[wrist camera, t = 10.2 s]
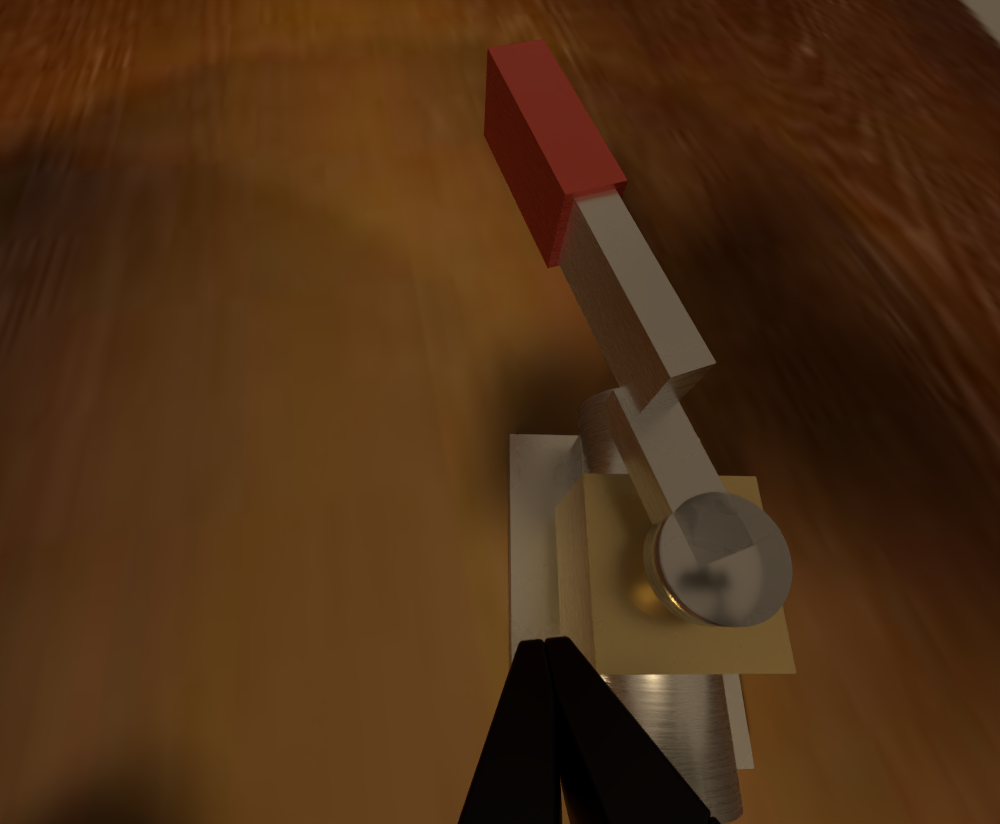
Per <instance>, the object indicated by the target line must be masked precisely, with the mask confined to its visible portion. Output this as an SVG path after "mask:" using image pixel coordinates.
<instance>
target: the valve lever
mask: <svg viewBox="0 0 1000 824" xmlns="http://www.w3.org/2000/svg"><path fill="white" fill-rule="evenodd" d="M484 136H485V139H486V141H487V143H488V145H489V147H490V149H491V151H492V153H493V155H494V157H495V159H496V161H497V164H498V166H499V168H500V170H501V172H502V174H503V176H504V178H505V180H506V182H507V184H508V186H509V189H510V191H511V193H512V195H513V197H514V199H515V201H516V203H517V205H518V207H519V209H520V211H521V214H522V216H523V218H524V220H525V222H526V224H527V226H528V228H529V230H530V232H531V234H532V236H533V239H534V241H535V243H536V245H537V247H538V249H539V251H540V253H541V255H542V257H543V259H544V261H545V264H546V266H547V268H550V267H554V266H558V265H560V267H561V269H562V271H563V273H564V275H565V277H566V279H567V282H568V284H569V286H570V288H571V290H572V292H573V294H574V296H575V298H576V300H577V302H578V304H579V306H580V308H581V310H582V312H583V314H584V316H585V318H586V320H587V322H588V324H589V326H590V328H591V330H592V332H593V334H594V336H595V338H596V340H597V342H598V345H599V347H600V349H601V351H602V353H603V355H604V357H605V359H606V361H607V363H608V365H609V367H610V369H611V371H612V373H613V375H614V377H615V379H616V381H617V383H618V385H619V388H616V389H613V390H612V392H611V393H610V395H609V397H608V398H607V400H606V401H605V403H604V404H603V406H602V407H601V409H600V410H599V411H600V413H601V415H602V417H603V419H604V421H605V424H606V426H607V428H608V430H609V432H610V434H611V436H612V438H613V441H614V443H615V445H616V447H617V449H618V451H619V453H620V456H621V458H622V460H623V462H624V464H625V466H626V468H627V471H628V473H629V475H630V477H631V479H632V481H633V483H634V486H635V488H636V490H637V492H638V494H639V496H640V498H641V501H642V503H643V505H644V507H645V509H646V511H647V513H648V516H649V518H650V520H651V522H652V526H651V527H650V529H649V531H648V533H647V536H646V539H645V542H644V549H643V562H644V569H645V573H646V577H647V579H648V582H649V584H650V586H651V588H652V590H653V592H654V593H655V595H656V596H657V598H658V599H659V600H660V602H661V603H662V604H663V605H664V606H665V607H666V608H667V609H668V610H669V611H670V612H672V613H673V614H675V615H676V616H677V617H679V618H681V619H683V620H684V621H687V622H689V623H692V624H695V625H699V626H706V627H749V626H754V625H757V624H760V623H762V622H764V621H766V620H768V619H770V618H771V617H772V616H773V615H775V614H776V613H777V612H778V611H779V609H780V608H781V607H782V605H783V604H784V602H785V601H786V599H787V596H788V594H789V591H790V588H791V582H792V561H791V556H790V552H789V549H788V546H787V543H786V541H785V539H784V537H783V535H782V533H781V531H780V530H779V528H778V527H777V525H776V524H775V523H774V521H773V520H772V519H771V518H770V517H769V516H768V515H767V514H766V513H765V512H764V511H763V510H762V509H760V508H759V507H758V506H756V505H755V504H754V503H752V502H750V501H748V500H747V499H745V498H742V497H740V496H737V495H734V494H730V493H727V491H726V489H725V487H724V485H723V483H722V481H721V480H720V478H719V476H718V474H717V472H716V470H715V468H714V466H713V465H712V463H711V461H710V459H709V457H708V455H707V453H706V451H705V450H704V448H703V446H702V444H701V442H700V440H699V438H698V436H697V435H696V433H695V431H694V429H693V427H692V425H691V423H690V421H689V420H688V418H687V416H686V414H685V412H684V410H683V408H682V406H681V405H680V403H679V401H680V400H681V399H682V398H683V397H684V396H685V395H686V394H687V393H688V392H689V391H690V390H691V388H692V387H693V386H694V385H695V384H696V383H697V382H698V381H699V380H700V379H701V378H702V377H703V376H704V375H705V374H706V373H707V372H708V371H709V370H710V369H711V368H712V367H713V366H714V365H715V364H716V361H715V359H714V358H713V356H712V354H711V353H710V351H709V349H708V347H707V346H706V344H705V342H704V341H703V339H702V337H701V335H700V334H699V332H698V330H697V328H696V327H695V325H694V323H693V322H692V320H691V318H690V316H689V315H688V313H687V311H686V310H685V308H684V306H683V304H682V303H681V301H680V299H679V297H678V296H677V294H676V292H675V291H674V289H673V287H672V285H671V284H670V282H669V280H668V279H667V277H666V275H665V273H664V272H663V270H662V268H661V266H660V265H659V263H658V261H657V260H656V258H655V256H654V254H653V253H652V251H651V249H650V248H649V246H648V244H647V242H646V241H645V239H644V237H643V235H642V234H641V232H640V230H639V229H638V227H637V225H636V223H635V222H634V220H633V218H632V217H631V215H630V213H629V211H628V210H627V208H626V206H625V204H624V203H623V201H622V199H621V197H622V194H623V192H624V189H625V186H626V184H627V181H628V180H627V178H626V177H625V175H624V173H623V172H622V170H621V168H620V167H619V165H618V163H617V162H616V160H615V158H614V157H613V155H612V153H611V152H610V150H609V148H608V147H607V145H606V143H605V142H604V140H603V138H602V137H601V135H600V133H599V131H598V130H597V128H596V126H595V125H594V123H593V121H592V120H591V118H590V116H589V115H588V113H587V111H586V110H585V108H584V106H583V105H582V103H581V101H580V100H579V98H578V96H577V95H576V93H575V91H574V90H573V88H572V86H571V85H570V83H569V81H568V80H567V78H566V76H565V75H564V73H563V71H562V70H561V68H560V66H559V64H558V63H557V61H556V59H555V58H554V56H553V54H552V53H551V51H550V49H549V48H548V46H547V44H546V43H545V41H544V39H542V40H535V41H529V42H523V43H517V44H510V45H504V46H498V47H492V48H488V53H487V76H486V99H485V123H484Z"/></svg>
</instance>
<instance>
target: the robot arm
mask: <svg viewBox="0 0 1000 824" xmlns="http://www.w3.org/2000/svg"><path fill="white" fill-rule="evenodd" d="M560 780H561V784H560ZM561 786H562V791H563V795H564V800H565V804H566V808H567V813H568V817H569V821H570V824H721V823H720V822H719V821H718V819H717V818H716V817H714V816H712V817H711V812H710V810H709V809H708V808H707V806H706V805H705V804H704V803H703V801H702V800H701V799H700V798H699V796H698V795H697V794H696V793H695V792H694V790H693V789H692V788H691V787H690V785H689V784H688V783H687V782H686V780H685V779H684V778H683V777H682V775H681V774H680V773H679V772H678V771H677V769H676V768H675V767H674V766H673V764H672V763H671V762H670V761H669V759H668V758H667V757H666V756H665V755H664V753H663V752H662V751H661V750H660V748H659V747H658V746H657V745H656V743H655V742H654V741H653V740H652V739H651V737H650V736H649V735H648V734H647V732H646V731H645V730H644V729H643V727H642V726H641V725H640V724H639V723H638V721H637V720H636V719H635V718H634V716H633V715H632V714H631V713H630V711H629V710H628V709H627V708H626V707H625V705H624V704H623V703H622V702H621V700H620V699H619V698H618V697H617V695H616V694H615V693H614V692H613V691H612V689H611V688H610V687H609V686H608V684H607V683H606V682H605V681H604V679H603V678H602V677H601V676H600V675H599V673H598V672H597V671H596V670H595V668H594V667H593V666H592V665H591V663H590V662H589V661H588V660H587V659H586V657H585V656H584V655H583V654H582V652H581V651H580V650H579V649H578V647H577V646H576V645H575V644H574V643H573V641H572V640H571V639H570V638H569V637H567V636H559V637H549V638H546V639H545V641H543V640H542V639H530V640H522V641H520V642H519V644H518V646H517V649H516V652H515V655H514V658H513V661H512V664H511V667H510V670H509V673H508V676H507V679H506V682H505V685H504V688H503V691H502V693H501V696H500V699H499V702H498V705H497V708H496V711H495V714H494V717H493V720H492V723H491V726H490V729H489V732H488V735H487V738H486V741H485V744H484V747H483V750H482V753H481V756H480V759H479V762H478V765H477V768H476V770H475V773H474V776H473V779H472V782H471V785H470V788H469V791H468V794H467V797H466V800H465V803H464V806H463V809H462V812H461V815H460V818H459V821H458V824H562V802H561Z"/></svg>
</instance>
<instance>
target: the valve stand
mask: <svg viewBox="0 0 1000 824" xmlns="http://www.w3.org/2000/svg"><path fill="white" fill-rule="evenodd" d="M614 389H616V388H614ZM612 390H613V389H609V390H606V391H602V392H600V393H597V394H594V395H592V396H590V397H589V398H587V399H585V400H584V401H583V402H582V403H581V404H580V405H579V408H578V418H579V433H580V435H579V436H578V435H535V434H510V435H509V439H508V583H509V670H510V667H511V664H512V661H513V658H514V655H515V652H516V649H517V646H518V644H519V642H520V641H522V640H530V639H542V640H543V641H545V639H546V638H549V637H559V636H567V637H569V638H570V639H571V640H572V641H573V643H574V644H575V645H576V646H577V647H578V649H579V650H580V651H581V652H582V654H583V655H584V656H585V657H586V659H587V660H588V661H589V662H590V663H591V665H592V666H593V667H594V668H595V670H596V671H597V672H598V673H599V675H600V676H601V677H602V678H603V679H604V681H605V682H606V683H607V684H608V686H609V687H610V688H611V689H612V691H613V692H614V693H615V694H616V695H617V697H618V698H619V699H620V700H621V702H622V703H623V704H624V705H625V707H626V708H627V709H628V710H629V711H630V713H631V714H632V715H633V716H634V718H635V719H636V720H637V721H638V723H639V724H640V725H641V726H642V727H643V729H644V730H645V731H646V732H647V734H648V735H649V736H650V737H651V739H652V740H653V741H654V742H655V743H656V745H657V746H658V747H659V748H660V750H661V751H662V752H663V753H664V755H665V756H666V757H667V758H668V759H669V761H670V762H671V763H672V764H673V766H674V767H675V768H676V769H677V771H678V772H679V773H680V774H681V775H682V777H683V778H684V779H685V780H686V782H687V783H688V784H689V785H690V787H691V788H692V789H693V790H694V792H695V793H696V794H697V795H698V796H699V798H700V799H701V800H702V801H703V803H704V804H705V805H706V806H707V808H708V809H709V810H710V812H711V817H712V816H714V817H716V818H717V819H718V821H719V822H720V823H721V824H725V823H729V822H732V821H734V820H737V819H738V818H740V817H741V816H742V814H743V806H742V799H741V793H740V786H739V780H738V773H737V769H754V763H753V757H752V751H751V745H750V739H749V733H748V727H747V721H746V715H745V709H744V703H743V697H742V691H741V685H740V679H739V674H796V669H795V664H794V659H793V654H792V649H791V644H790V640H789V635H788V630H787V625H786V620H785V615H784V610H783V605H782V607H781V608H780V609H779V611H778V612H777V613H776V614H775V615H773V616H772V617H771V618H770V619H768V620H766V621H764V622H762V623H760V624H757V625H754V626H749V627H706V626H699V625H695V624H692V623H689V622H687V621H684V620H683V619H681V618H679V617H677V616H676V615H675V614H673V613H672V612H670V611H669V610H668V609H667V608H666V607H665V606H664V605H663V604H662V603H661V602H660V600H659V599H658V598H657V596H656V595H655V593H654V592H653V590H652V588H651V586H650V584H649V582H648V579H647V577H646V573H645V569H644V562H643V549H644V542H645V539H646V536H647V533H648V531H649V529H650V527H651V526H652V522H651V520H650V518H649V516H648V513H647V511H646V509H645V507H644V505H643V503H642V501H641V498H640V496H639V494H638V492H637V490H636V488H635V486H634V483H633V481H632V479H631V477H630V475H629V473H628V471H627V468H626V466H625V464H624V462H623V460H622V458H621V456H620V453H619V451H618V449H617V447H616V445H615V443H614V441H613V438H612V436H611V434H610V432H609V430H608V428H607V426H606V424H605V421H604V419H603V417H602V415H601V413H600V411H599V410H600V409H601V407H602V406H603V404H604V403H605V401H606V400H607V398H608V397H609V395H610V393H611V392H612ZM679 403H680V405H681V402H680V401H679ZM699 440H700V438H699ZM719 478H720V480H721V481H722V483H723V485H724V487H725V489H726V491H727V493H730V494H734V495H737V496H740V497H742V498H745V499H747V500H748V501H750V502H752V503H754V504H755V505H756V506H758V507H759V508H760V509H762V510H763V508H762V503H761V498H760V493H759V488H758V483H757V478H756V476H719Z"/></svg>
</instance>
